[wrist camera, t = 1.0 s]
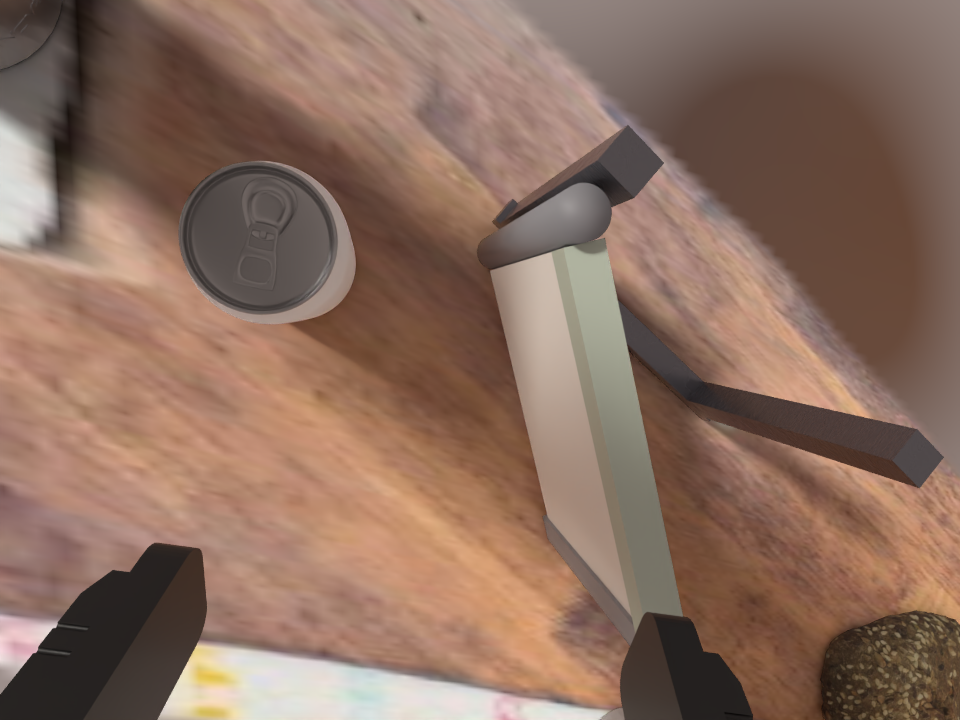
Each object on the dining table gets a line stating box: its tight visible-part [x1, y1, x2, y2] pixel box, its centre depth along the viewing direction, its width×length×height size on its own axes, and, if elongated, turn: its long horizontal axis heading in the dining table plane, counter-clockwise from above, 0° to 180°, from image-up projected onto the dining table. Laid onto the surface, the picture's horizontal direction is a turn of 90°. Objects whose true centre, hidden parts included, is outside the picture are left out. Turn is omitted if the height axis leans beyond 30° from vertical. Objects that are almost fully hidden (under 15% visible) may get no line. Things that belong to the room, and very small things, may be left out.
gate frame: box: [492, 125, 944, 488], centre depth 29 cm, size 19×2×16 cm, turn 49°
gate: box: [477, 183, 683, 646], centre depth 29 cm, size 19×2×15 cm, turn 14°
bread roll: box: [821, 611, 960, 720], centre depth 42 cm, size 13×12×5 cm
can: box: [179, 161, 356, 324], centre depth 27 cm, size 6×6×12 cm
